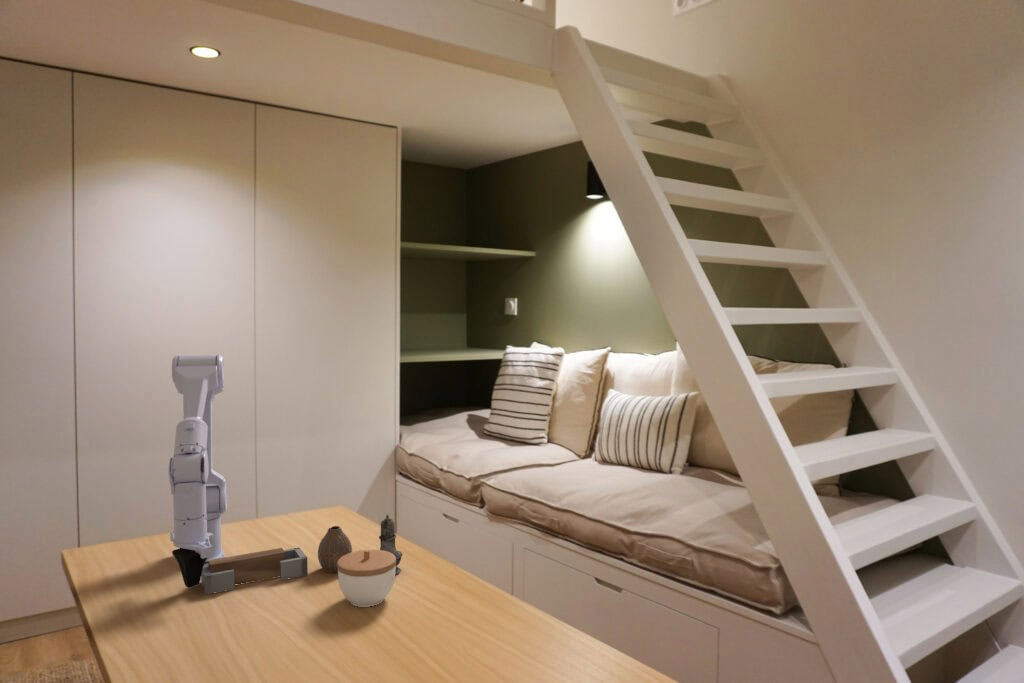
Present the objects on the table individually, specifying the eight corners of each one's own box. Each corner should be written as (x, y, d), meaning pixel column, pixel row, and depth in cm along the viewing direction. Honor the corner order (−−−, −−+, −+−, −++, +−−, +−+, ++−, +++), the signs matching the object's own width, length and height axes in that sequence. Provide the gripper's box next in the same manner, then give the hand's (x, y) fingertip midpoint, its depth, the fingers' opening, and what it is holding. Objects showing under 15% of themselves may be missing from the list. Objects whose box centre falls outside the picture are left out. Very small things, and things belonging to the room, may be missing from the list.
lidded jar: (407, 594, 132) (407, 545, 132) (373, 617, 122) (373, 565, 122) (361, 584, 137) (361, 537, 136) (325, 606, 127) (324, 556, 126)
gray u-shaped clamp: (201, 582, 138) (200, 564, 138) (229, 576, 140) (228, 559, 140) (205, 595, 132) (204, 576, 132) (234, 589, 134) (234, 571, 134)
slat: (209, 585, 137) (208, 560, 137) (282, 571, 144) (281, 547, 144) (210, 590, 134) (210, 565, 134) (285, 576, 141) (285, 552, 141)
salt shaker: (407, 568, 145) (407, 511, 144) (394, 579, 139) (393, 520, 139) (382, 565, 147) (382, 509, 146) (368, 575, 141) (367, 517, 140)
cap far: (274, 568, 145) (273, 551, 145) (299, 564, 147) (299, 547, 147) (281, 580, 139) (280, 562, 139) (307, 575, 141) (307, 557, 141)
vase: (356, 563, 148) (356, 522, 147) (345, 576, 141) (345, 533, 140) (325, 562, 148) (324, 521, 148) (312, 575, 142) (312, 532, 141)
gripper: (228, 518, 131) (230, 589, 132) (195, 503, 141) (196, 569, 142) (190, 527, 126) (192, 601, 127) (158, 511, 136) (160, 579, 136)
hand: (192, 585), depth 134 cm, fingers closed
